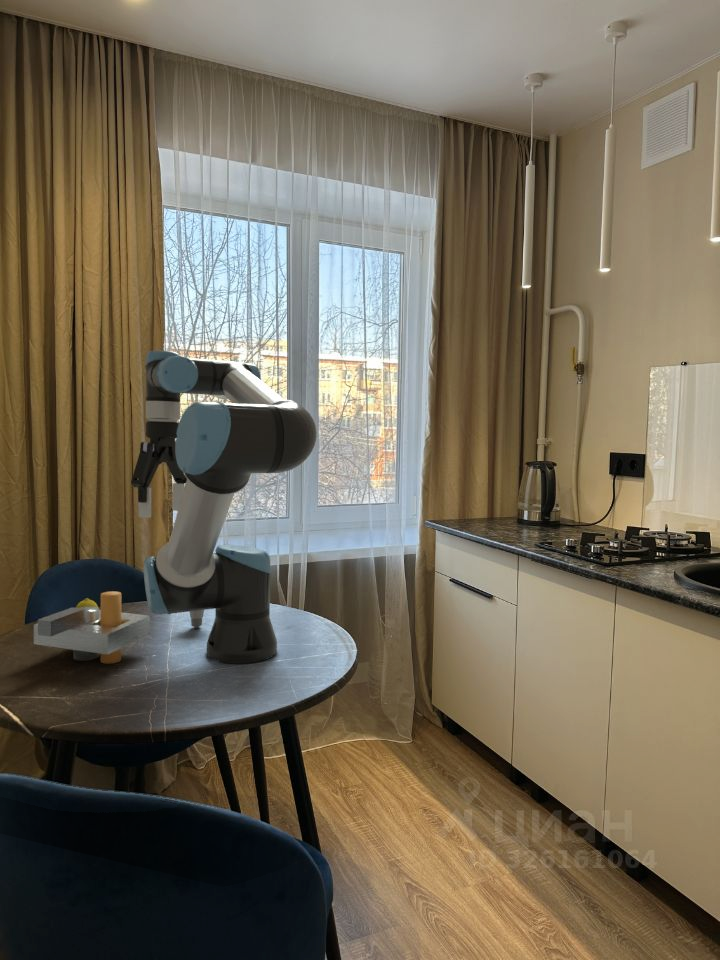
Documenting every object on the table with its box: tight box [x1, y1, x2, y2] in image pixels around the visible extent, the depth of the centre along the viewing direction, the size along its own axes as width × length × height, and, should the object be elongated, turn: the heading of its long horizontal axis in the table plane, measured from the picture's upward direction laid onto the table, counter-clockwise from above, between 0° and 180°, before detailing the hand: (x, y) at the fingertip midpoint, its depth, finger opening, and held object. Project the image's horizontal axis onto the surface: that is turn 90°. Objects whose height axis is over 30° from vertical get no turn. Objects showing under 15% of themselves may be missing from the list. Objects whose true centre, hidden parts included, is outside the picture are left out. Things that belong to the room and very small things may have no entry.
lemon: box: [75, 597, 99, 608], centre depth 154 cm, size 6×6×8 cm
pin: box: [100, 590, 122, 664], centre depth 136 cm, size 4×4×14 cm
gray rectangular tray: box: [33, 607, 151, 662], centre depth 135 cm, size 18×19×11 cm
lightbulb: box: [189, 610, 205, 629], centre depth 160 cm, size 6×6×11 cm
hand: (162, 514), depth 151 cm, fingers open, 13 cm apart
